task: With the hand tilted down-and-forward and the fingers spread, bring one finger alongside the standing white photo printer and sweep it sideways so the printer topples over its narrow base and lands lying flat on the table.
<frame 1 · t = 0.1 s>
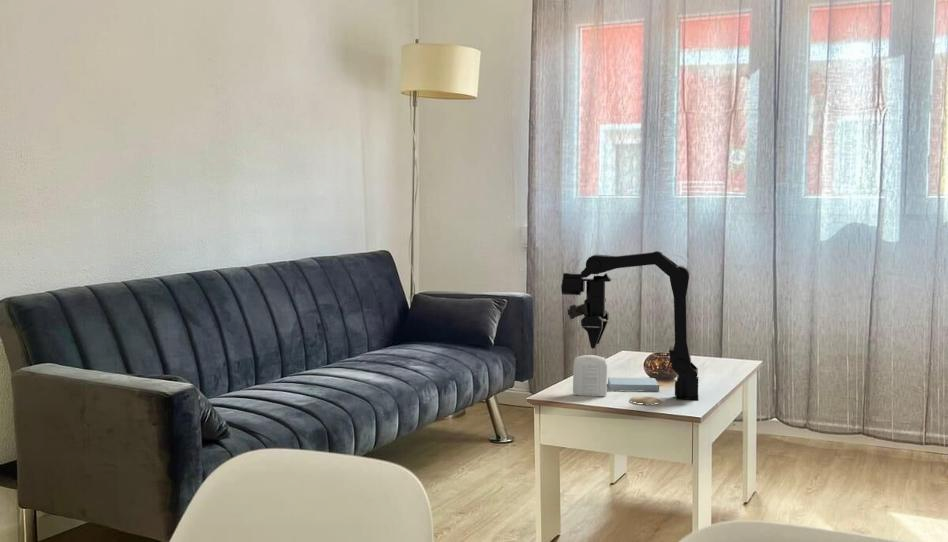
hand: (595, 346, 284), 15 cm above the table, tool pointing down, fingers open, 9 cm apart
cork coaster: (645, 401, 273), on the table
pale blue flat block: (633, 387, 293), on the table
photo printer: (589, 395, 281), on the table
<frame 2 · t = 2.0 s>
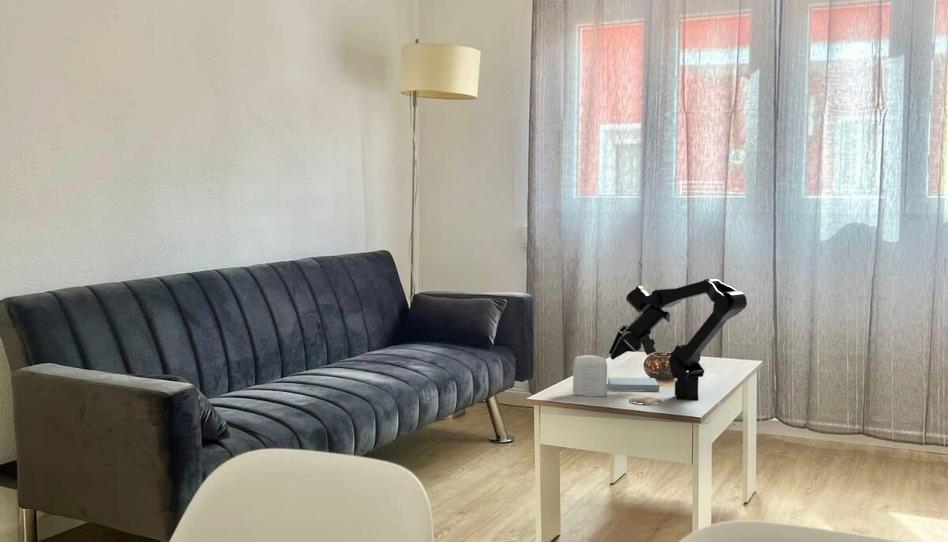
hand: (610, 356, 290), 10 cm above the table, tool tilted 45°, fingers open, 9 cm apart
nothing on the table moved.
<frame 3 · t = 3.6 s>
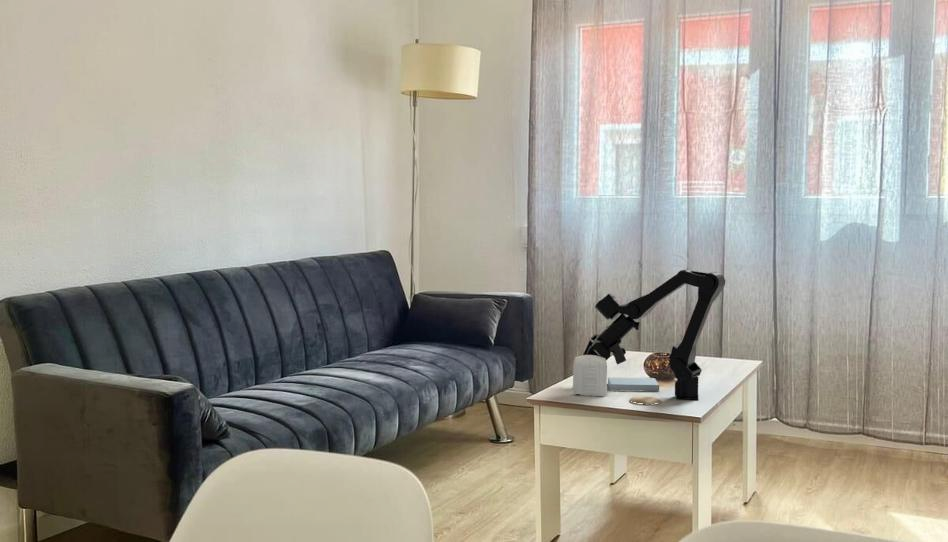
hand: (581, 364, 290), 8 cm above the table, tool tilted 45°, fingers open, 9 cm apart
nothing on the table moved.
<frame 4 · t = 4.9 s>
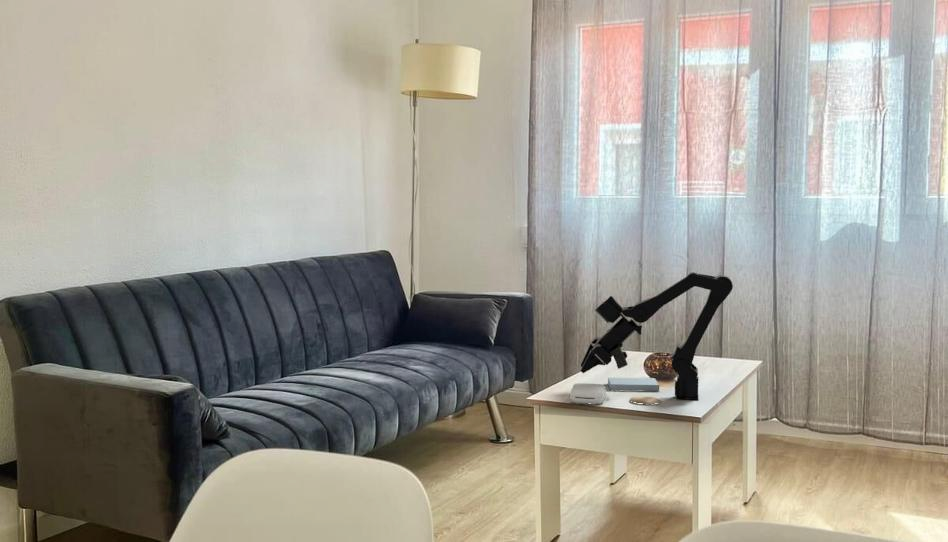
hand: (581, 369, 284), 7 cm above the table, tool tilted 45°, fingers open, 9 cm apart
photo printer: (589, 389, 279), point 2 cm above the table
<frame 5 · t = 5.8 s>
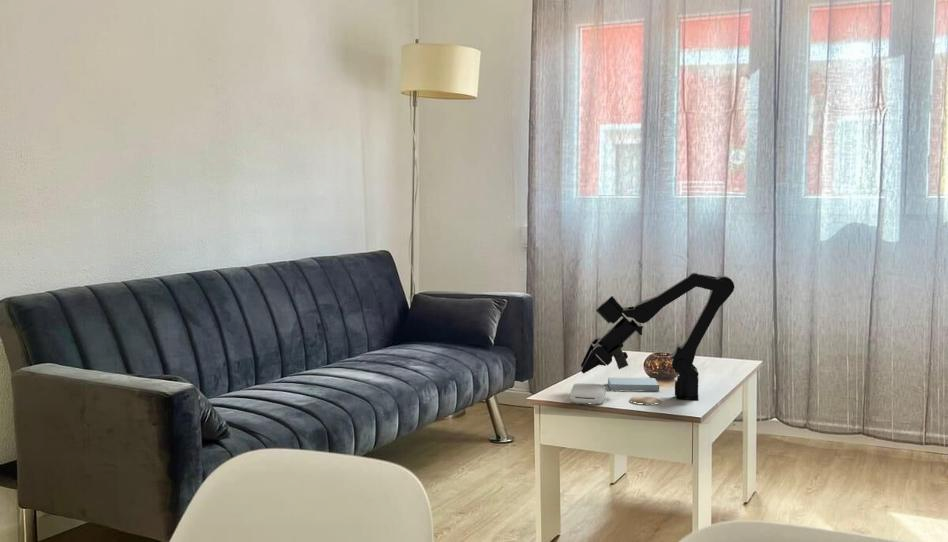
hand: (582, 369, 282), 8 cm above the table, tool tilted 45°, fingers open, 9 cm apart
nothing on the table moved.
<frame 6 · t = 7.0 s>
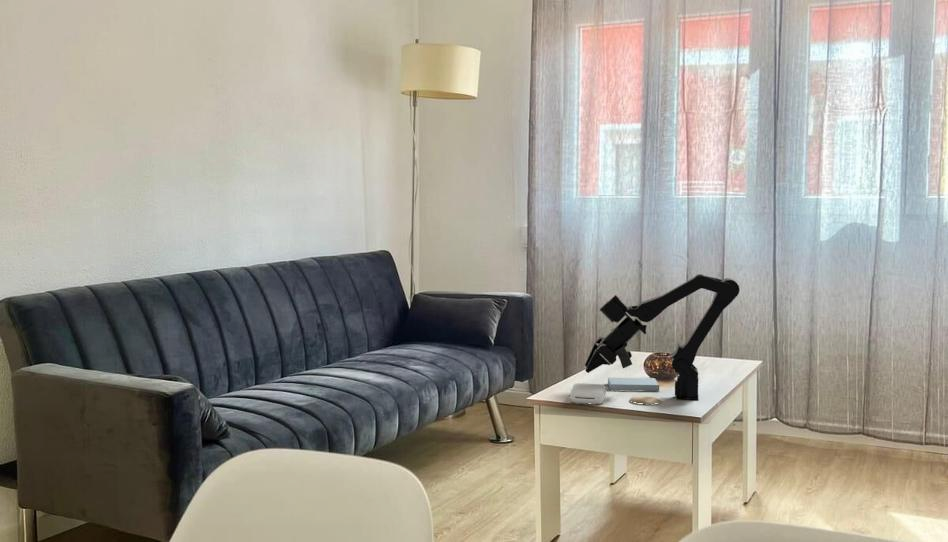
hand: (586, 369, 282), 8 cm above the table, tool tilted 45°, fingers open, 9 cm apart
nothing on the table moved.
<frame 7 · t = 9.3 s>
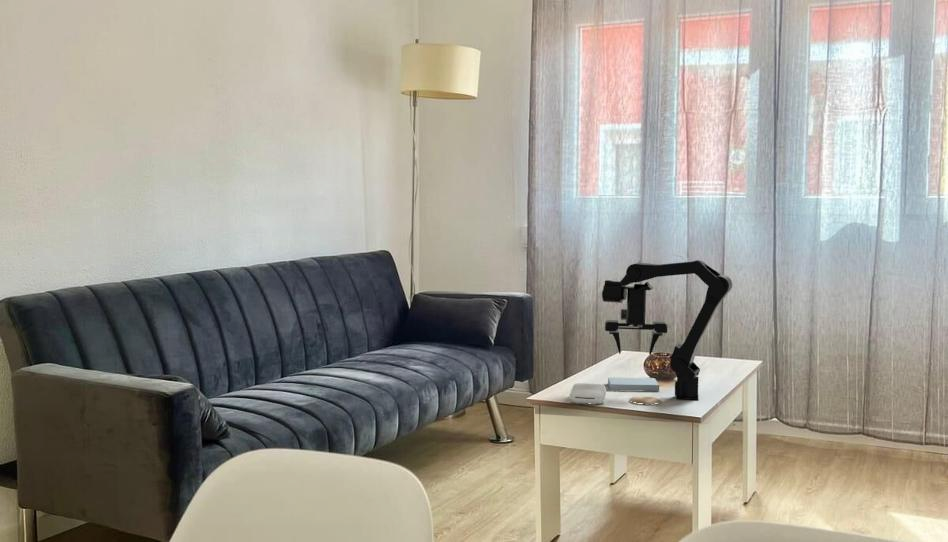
hand: (634, 354, 284), 12 cm above the table, tool pointing down, fingers open, 9 cm apart
nothing on the table moved.
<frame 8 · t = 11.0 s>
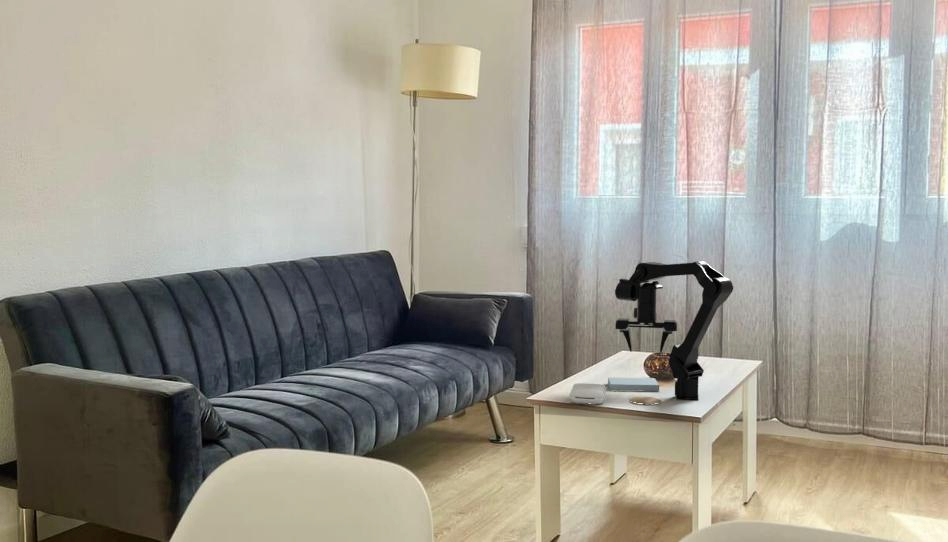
hand: (645, 352, 288), 12 cm above the table, tool pointing down, fingers open, 9 cm apart
nothing on the table moved.
at the end: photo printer tilted 90°; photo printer inside the target area (5.6 cm from its centre), point 2.1 cm above the table; the gripper is holding nothing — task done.
